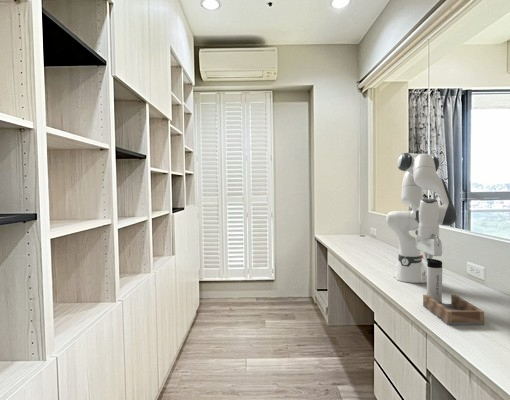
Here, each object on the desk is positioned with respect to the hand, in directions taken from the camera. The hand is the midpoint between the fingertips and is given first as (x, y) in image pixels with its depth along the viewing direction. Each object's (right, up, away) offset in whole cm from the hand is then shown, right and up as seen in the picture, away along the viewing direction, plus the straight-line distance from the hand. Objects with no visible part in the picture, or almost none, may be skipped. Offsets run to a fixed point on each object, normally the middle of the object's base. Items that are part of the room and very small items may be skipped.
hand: (428, 262), depth 176 cm
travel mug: (0, -18, -5) cm, 19 cm away
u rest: (0, -18, -21) cm, 28 cm away
